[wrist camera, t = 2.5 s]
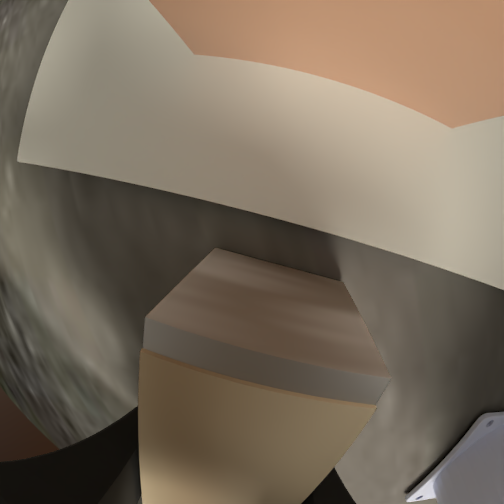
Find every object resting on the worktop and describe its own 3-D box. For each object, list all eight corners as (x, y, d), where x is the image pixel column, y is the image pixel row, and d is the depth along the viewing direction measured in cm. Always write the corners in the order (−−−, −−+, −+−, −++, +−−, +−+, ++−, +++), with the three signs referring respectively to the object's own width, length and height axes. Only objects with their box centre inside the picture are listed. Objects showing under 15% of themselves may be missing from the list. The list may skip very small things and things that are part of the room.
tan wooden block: (342, 281, 9) (392, 382, 4) (256, 472, 11) (243, 554, 7) (216, 246, 9) (142, 319, 4) (177, 451, 12) (145, 529, 7)
